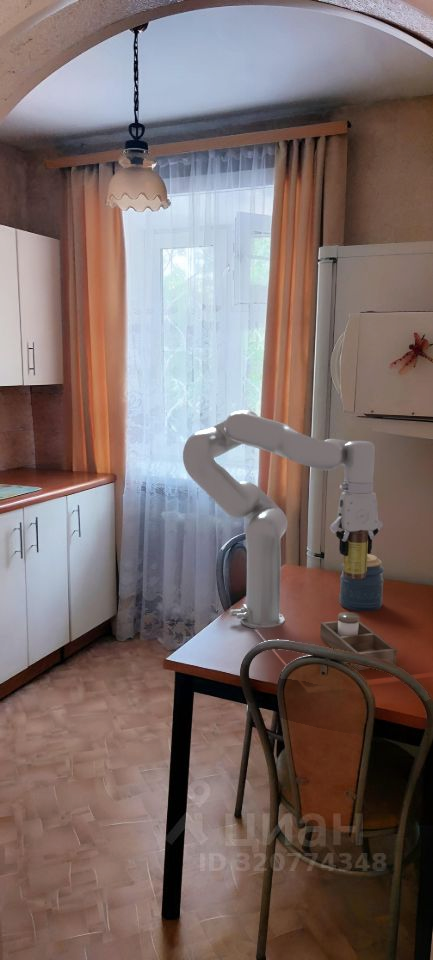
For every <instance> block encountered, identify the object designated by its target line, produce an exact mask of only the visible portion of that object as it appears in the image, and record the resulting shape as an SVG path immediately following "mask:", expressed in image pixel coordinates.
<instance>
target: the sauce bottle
mask: <svg viewBox="0 0 433 960" xmlns="http://www.w3.org/2000/svg"><path fill="white" fill-rule="evenodd" d="M347 541H348V555H347V556H344V555H343V563H342V564H343V570H344V576H345V577H348V578H351V579H362V578H365V577H366V571H367V551H368V531H366V530H359V531H356V532H350V533H349V535H348V538H347Z"/></svg>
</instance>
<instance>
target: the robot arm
mask: <svg viewBox="0 0 433 960" xmlns="http://www.w3.org/2000/svg"><path fill="white" fill-rule="evenodd" d="M240 445H245V446H248V447H253V448H255V449H258V450H262V451H265V452H268V453H272V454H275V455H277V456H279V457H282V458H284V459H287V460H289V461H292V462H294V463H297V464H299V465H303V466H306V467H309V468H314V469H318V470H321V471H332V470H336V469H337V468H338V467H339V466H344V476H343V478H344V479H343V480H344V481H343V483H342V484H339V489H340V490H343V492H341V495H340V497H339V502H338V508H337V515H336V516H337V518H336V519H335V520H334V521H333V522H332V523H331V524H330V526H328V527H329V529H330V531H331V532H332V533H333V534H334V535H335V536H336V538H337V539H338V540H339V543H338V544H339V546H338V547H339V548H338V550H339V554H341V555H342V556H343V557H344V556H347V555H348V541H347V538H348V535H349V533H350V532H356V531H359V530H366V531H368V551H367V554H371V555H372V548H373V540H374V539H375V536H377V534H378V533H379V531H380V530H381V529H382V528H383V526H384V523H383V522H382V521H381V520H380V519H379V517H378V516H379V513H378V512H379V511H378V510H379V509H378V500H377V494H376V492H374V491H373V490H374V473H375V456H376V455H375V453H376V452H375V451H376V450H375V449H376V448H375V444H374V443H373V442H371V441H366V440H351V441H350V440H343V439H340V438H339V439H338V438H328V439H325V440H322V439H318V438H315V437H311V436H308V435H305V434H303V433H300V432H299V431H296V430H294V429H293V428H292V427H291V426H289V425H288V424H287V423H283V422H280V421H276V420H273V419H269V418H265V417H262V416H259V415H258V414H256V413H255V412H253V411H252V410H247V409H246V410H245V409H242V410H238V411H234V412H232V413H230V414H229V415H228V416H227V418H226V419H225V420H223V421H221V422H220V423H217V424H215V425H213V426H212V427H210V428H209V427H208V428H207V429H202V430H200V431H196V432H195V433H192V434H191V435H190V436H189V437H188V438H187V440H186V441H185V444H184V447H183V451H182V460H183V466H184V468H185V470H186V472H187V474H188V476H189V477H190V478H191V479H192V480H193V481H194V483H195V484H196V485H198V487H200V489H202V490H203V491H204V492H205V493H206V495H208V497H209V498H210V499H212V501H213V502H214V503H215V504H216V505H218V507H219V508H220V509H221V510H222V511H223V512H224V514H226V515H227V516H228V517H229V518H231V519H234V520H241V519H244V518H245V519H246V520H247V521H248V523H247V526H246V530H245V544H246V594H245V595H246V601H245V604H244V603H243V604H242V607H240V608H239V609H237V608H236V609H230V610H229V613H228V614H229V616H230V617H231V618H232V617H236V619H240V623H241V624H242V625H244V626H245V627H248V628H250V629H255V630H257V628H259V629H261V628H263V629H266V628H275V627H279V626H282V625H283V624H285V619H286V618H285V616H283V614H281V613H280V610H281V609H280V607H281V605H280V603H281V576H282V575H281V574H282V572H281V571H282V569H281V568H282V561H281V560H282V557H281V556H282V553H281V552H282V551H281V538H282V537H283V536H284V534H285V533H286V531H287V530H288V529H287V528H288V525H289V523H288V519H287V516H286V514H285V512H284V511H283V510H282V509H281V508H280V507H279V506H278V505H277V504H276V503H275V502H274V501H273V500H272V499H271V498H270V497H269V496H268V495H267V494H266V493H265V492H264V491H263V490H262V489H261V488H260V487H258V486H257V484H255V483H252V482H250V481H247V480H246V481H245V480H244V481H242V480H241V481H238V480H237V479H235V478H234V477H233V476H232V475H231V474H230V473H229V472H228V470H227V469H225V468H224V467H223V466H221V465H220V464H218V462H216V460H215V458H217V457H219V456H222V455H223V454H226V453H228V452H229V451H231V450H233V449H235V448H237V447H239V446H240ZM339 529H340V530H339Z"/></svg>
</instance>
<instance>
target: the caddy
mask: <svg viewBox="0 0 433 960" xmlns="http://www.w3.org/2000/svg"><path fill="white" fill-rule="evenodd" d="M319 635H320V639H321V640H323V641H324V642H325V643H326V644H327V645H328V646H329V647H330V648H335V649H340V650H344V651H349V652H353V653H358V654H363V655H367V656H371V657H375V658H379V659H382V660H386V661H388V662H391V663H393V664H395V665H396V666H397V654H398V649H397V648H396V647H394V646H393V645H391V644H390V643H389V642H388V641H386V640H385V639H384V638H382V637H381V636H379V635H378V634H377V633H376V632H374V630H372V629H370V628H369V627H368V626H367V625H365V624H364V623H363V622H362V621H360V620H359V626H358V635H351V636H341V637H340V636H339V635H338V620H334V621H326V622H320V634H319ZM350 666H351V667H352V666H353V667H354V668H355V669H356V670H355V669H354V668H353V667H352V668H353V669H354V670H355V671H360V670H361V671H363V670H371V669H370V668H366V667H362V666H359V665H355V664H352V665H350Z"/></svg>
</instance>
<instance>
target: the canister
mask: <svg viewBox="0 0 433 960" xmlns="http://www.w3.org/2000/svg"><path fill="white" fill-rule="evenodd" d="M340 569H341V571H342V572H341V575H340V577H339V578H340V590H339V591H340V592H339V597H338V600H339V605H341V606H342V607H343V608H345V609H347V610H351V611H354V612H371V611H372V612H373V611H378V610H380V609H381V608H382V605H383V600H384V599H383V589H384V588H383V587H384V586H383V585H384V582H385V581H384V578H383V573H384V572H385V569H384V567H383V566H382V560H381V559H379V558H378V557H377V555H375V554H372V553H371V554H367V571H366V577H365V578H362V579H351V578H348V577H345V576H344V570H343V563H342V564H341V565H340Z"/></svg>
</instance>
